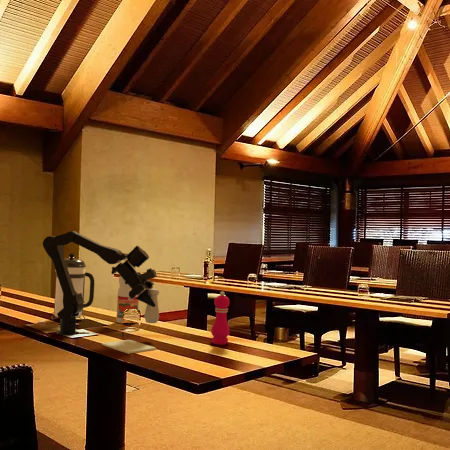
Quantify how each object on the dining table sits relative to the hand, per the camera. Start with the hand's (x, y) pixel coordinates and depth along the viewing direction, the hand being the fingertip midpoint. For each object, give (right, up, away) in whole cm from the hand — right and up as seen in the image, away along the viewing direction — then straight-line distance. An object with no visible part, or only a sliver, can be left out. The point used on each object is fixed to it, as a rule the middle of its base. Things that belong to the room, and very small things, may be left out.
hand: (155, 305), depth 210 cm
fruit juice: (-17, -13, +33) cm, 39 cm away
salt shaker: (-2, -7, 0) cm, 7 cm away
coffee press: (-43, -11, +33) cm, 55 cm away
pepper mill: (+25, -15, 0) cm, 29 cm away
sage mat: (-8, -13, -15) cm, 21 cm away
